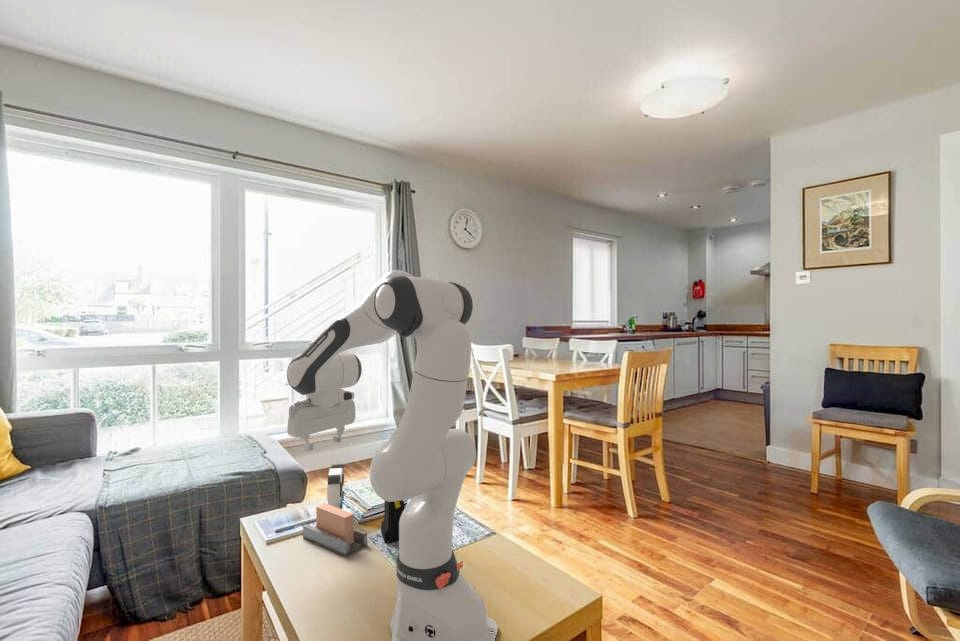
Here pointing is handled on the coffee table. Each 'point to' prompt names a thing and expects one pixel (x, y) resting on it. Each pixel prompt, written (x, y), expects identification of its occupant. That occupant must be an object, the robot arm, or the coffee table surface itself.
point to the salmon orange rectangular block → (335, 522)
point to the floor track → (335, 540)
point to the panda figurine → (336, 487)
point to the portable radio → (391, 520)
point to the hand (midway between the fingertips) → (323, 446)
